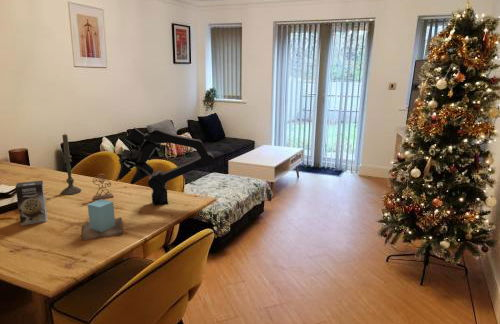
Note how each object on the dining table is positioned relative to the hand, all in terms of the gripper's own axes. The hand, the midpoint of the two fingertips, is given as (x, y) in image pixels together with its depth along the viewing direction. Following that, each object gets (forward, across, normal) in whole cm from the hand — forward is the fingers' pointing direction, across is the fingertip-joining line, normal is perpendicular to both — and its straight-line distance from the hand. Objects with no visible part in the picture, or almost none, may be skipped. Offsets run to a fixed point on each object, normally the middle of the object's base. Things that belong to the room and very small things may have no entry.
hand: (124, 181), depth 151 cm
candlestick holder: (+12, -43, +7) cm, 46 cm away
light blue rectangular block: (+21, +9, -3) cm, 23 cm away
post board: (+21, +9, -2) cm, 23 cm away
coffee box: (+31, -19, -12) cm, 38 cm away
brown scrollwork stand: (+8, -24, +12) cm, 28 cm away
